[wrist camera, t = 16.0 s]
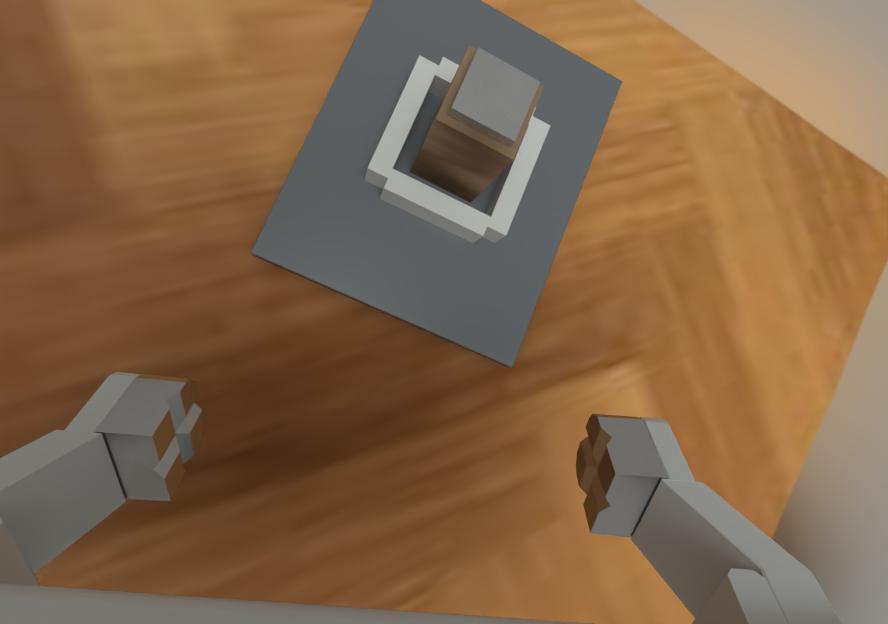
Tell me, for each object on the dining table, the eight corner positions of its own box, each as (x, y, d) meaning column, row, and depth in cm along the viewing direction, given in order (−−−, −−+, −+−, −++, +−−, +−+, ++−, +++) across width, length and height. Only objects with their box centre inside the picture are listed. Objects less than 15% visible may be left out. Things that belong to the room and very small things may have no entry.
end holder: (252, 255, 30) (246, 244, 27) (395, -38, 33) (402, -74, 30) (507, 367, 32) (525, 368, 30) (615, 87, 36) (639, 65, 33)
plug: (409, 172, 31) (439, 111, 23) (436, 113, 32) (474, 35, 24) (470, 202, 32) (519, 153, 24) (495, 144, 33) (551, 78, 25)
